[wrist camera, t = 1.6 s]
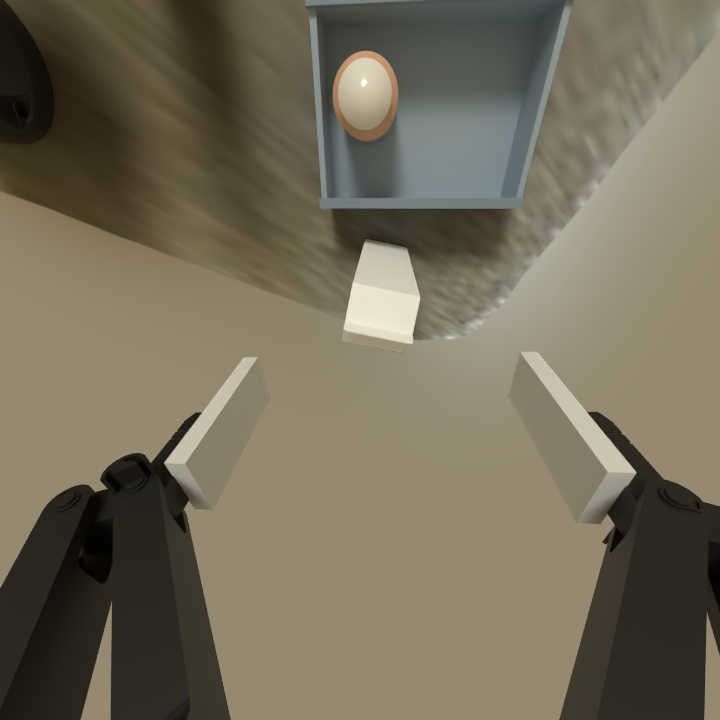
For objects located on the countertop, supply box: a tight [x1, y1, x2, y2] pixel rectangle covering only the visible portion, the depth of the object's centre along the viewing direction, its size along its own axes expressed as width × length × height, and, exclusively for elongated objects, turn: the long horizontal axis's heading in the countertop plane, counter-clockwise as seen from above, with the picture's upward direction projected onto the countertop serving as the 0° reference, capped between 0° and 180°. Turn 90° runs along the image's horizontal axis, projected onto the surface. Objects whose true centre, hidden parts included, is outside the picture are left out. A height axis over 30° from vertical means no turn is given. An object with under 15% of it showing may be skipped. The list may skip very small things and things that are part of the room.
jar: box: [333, 51, 398, 144], centre depth 29 cm, size 6×6×8 cm
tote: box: [305, 0, 573, 209], centre depth 31 cm, size 22×16×6 cm
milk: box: [342, 239, 420, 353], centre depth 33 cm, size 6×6×22 cm
